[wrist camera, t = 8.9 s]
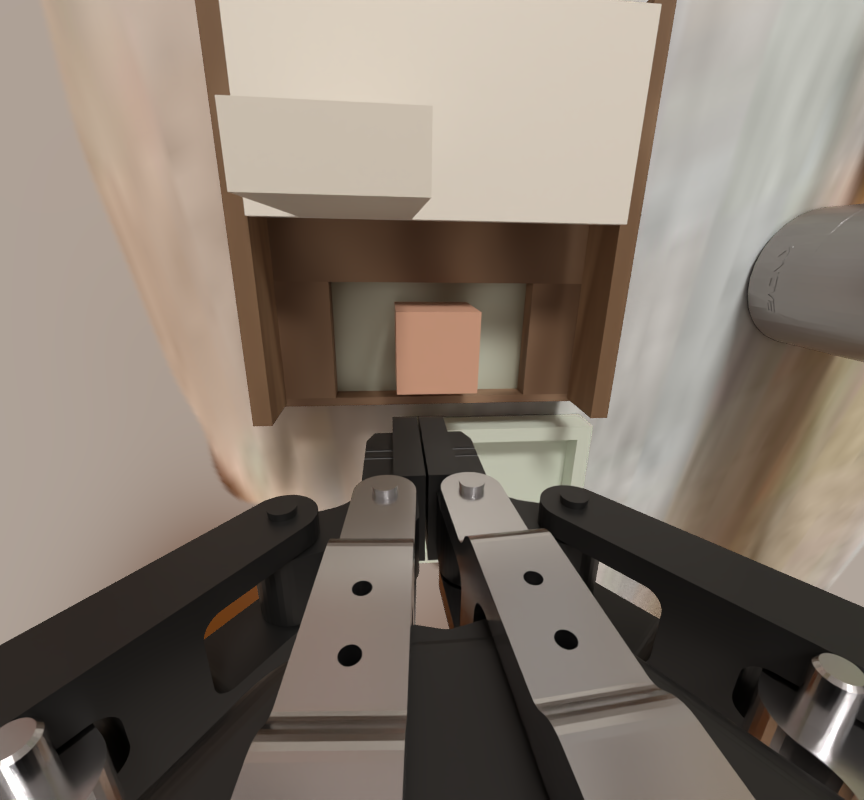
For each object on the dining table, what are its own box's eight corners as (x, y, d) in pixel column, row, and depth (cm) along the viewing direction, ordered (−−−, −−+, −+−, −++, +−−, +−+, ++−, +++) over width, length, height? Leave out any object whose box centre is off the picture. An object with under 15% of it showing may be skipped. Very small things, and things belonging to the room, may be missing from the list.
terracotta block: (466, 302, 27) (481, 312, 22) (463, 371, 28) (477, 393, 24) (394, 301, 26) (395, 312, 22) (395, 372, 28) (397, 394, 23)
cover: (650, 14, 18) (918, -223, 9) (618, 225, 21) (797, 208, 12) (222, -19, 16) (15, -354, 7) (250, 216, 19) (127, 189, 10)
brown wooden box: (605, 54, 24) (678, -11, 18) (563, 386, 31) (606, 420, 25) (242, 30, 22) (187, -51, 16) (281, 391, 29) (253, 429, 23)
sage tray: (579, 414, 32) (593, 426, 30) (561, 536, 36) (572, 554, 33) (406, 418, 31) (407, 431, 28) (406, 544, 34) (408, 564, 32)
